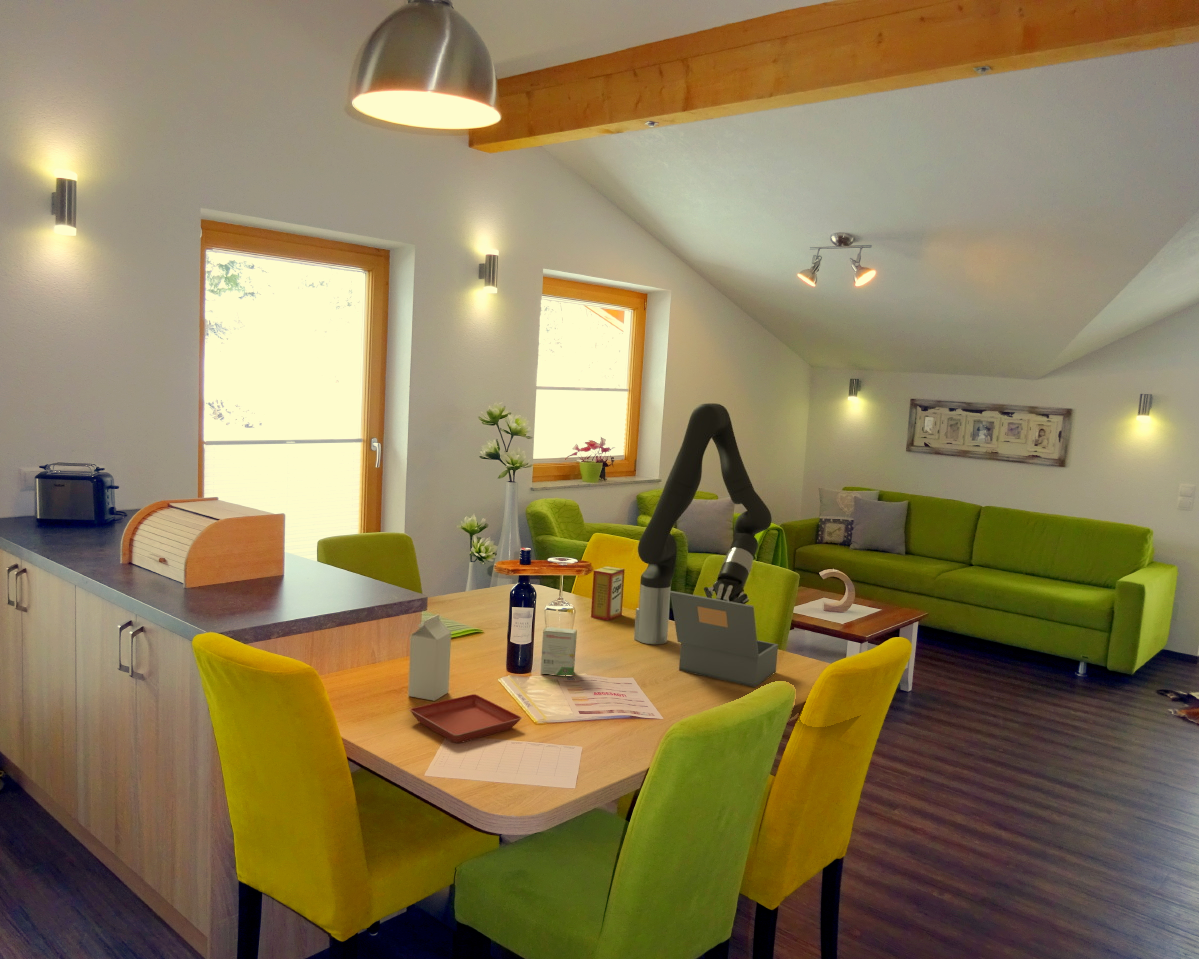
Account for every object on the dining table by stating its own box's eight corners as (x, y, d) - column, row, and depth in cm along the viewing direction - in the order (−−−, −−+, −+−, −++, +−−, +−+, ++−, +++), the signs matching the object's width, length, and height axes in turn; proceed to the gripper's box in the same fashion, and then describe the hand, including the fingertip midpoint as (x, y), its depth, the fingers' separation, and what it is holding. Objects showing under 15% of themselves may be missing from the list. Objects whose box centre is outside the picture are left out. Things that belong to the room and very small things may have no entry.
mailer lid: (678, 640, 253) (677, 642, 252) (671, 590, 245) (670, 592, 245) (758, 657, 241) (757, 659, 241) (753, 605, 234) (752, 607, 233)
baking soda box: (608, 620, 302) (611, 572, 300) (590, 617, 305) (593, 569, 303) (621, 615, 310) (624, 568, 308) (604, 611, 313) (607, 565, 312)
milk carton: (448, 692, 225) (452, 616, 223) (434, 701, 219) (437, 622, 217) (423, 688, 228) (426, 612, 226) (407, 696, 221) (410, 618, 219)
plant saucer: (522, 731, 205) (523, 716, 204) (454, 750, 192) (455, 734, 192) (474, 706, 218) (474, 693, 217) (407, 723, 205) (408, 708, 205)
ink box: (539, 675, 243) (542, 630, 242) (543, 669, 248) (545, 625, 247) (572, 677, 242) (575, 633, 241) (575, 671, 247) (577, 628, 246)
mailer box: (678, 670, 254) (680, 641, 253) (702, 656, 268) (704, 629, 267) (755, 687, 243) (757, 657, 242) (775, 672, 257) (778, 644, 256)
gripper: (710, 557, 253) (688, 610, 244) (756, 564, 246) (736, 618, 237) (716, 572, 258) (695, 625, 249) (761, 580, 252) (742, 634, 243)
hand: (715, 622), depth 243 cm, fingers closed
